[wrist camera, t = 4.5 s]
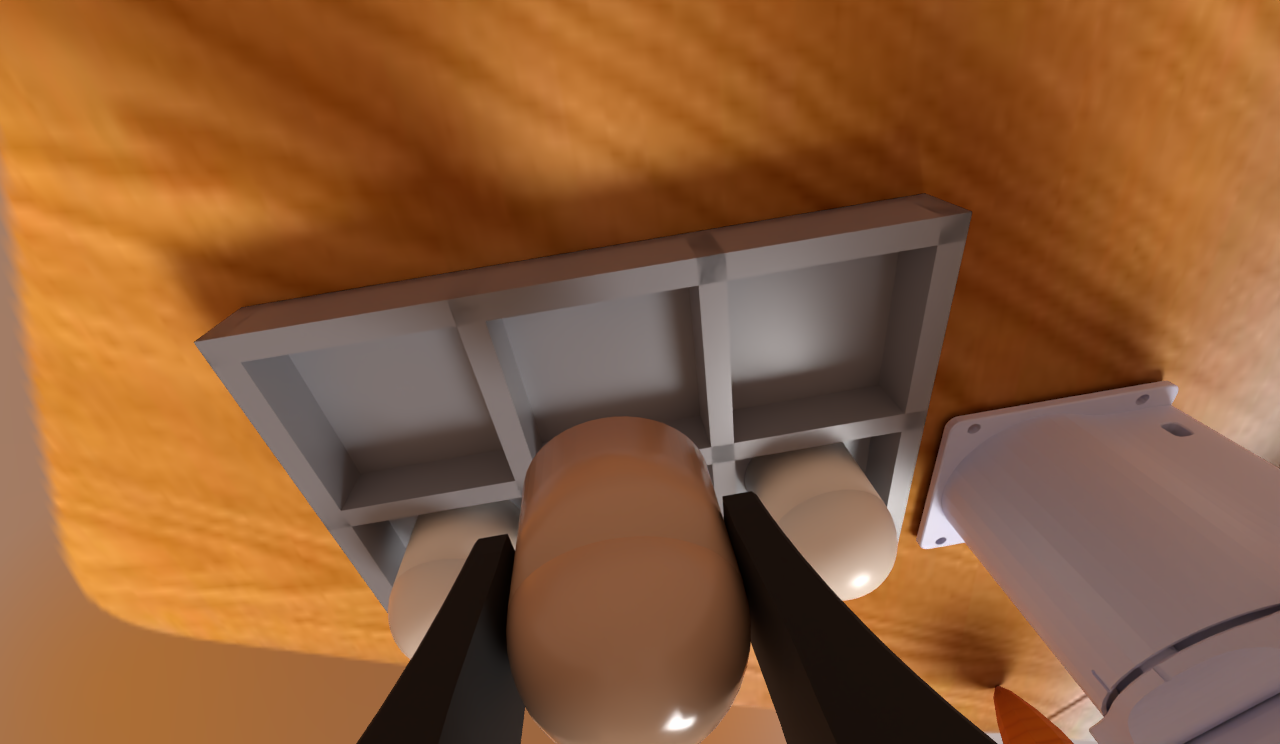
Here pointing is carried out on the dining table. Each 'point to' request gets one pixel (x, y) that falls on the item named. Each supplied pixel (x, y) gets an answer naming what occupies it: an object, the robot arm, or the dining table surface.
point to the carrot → (1024, 721)
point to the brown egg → (625, 589)
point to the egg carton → (612, 385)
